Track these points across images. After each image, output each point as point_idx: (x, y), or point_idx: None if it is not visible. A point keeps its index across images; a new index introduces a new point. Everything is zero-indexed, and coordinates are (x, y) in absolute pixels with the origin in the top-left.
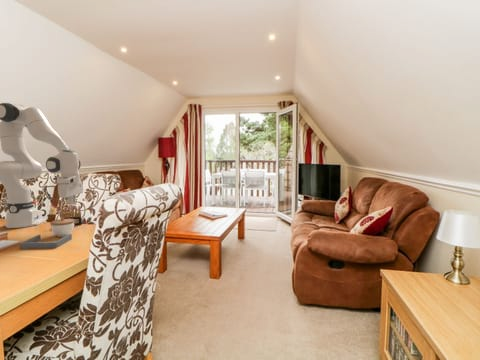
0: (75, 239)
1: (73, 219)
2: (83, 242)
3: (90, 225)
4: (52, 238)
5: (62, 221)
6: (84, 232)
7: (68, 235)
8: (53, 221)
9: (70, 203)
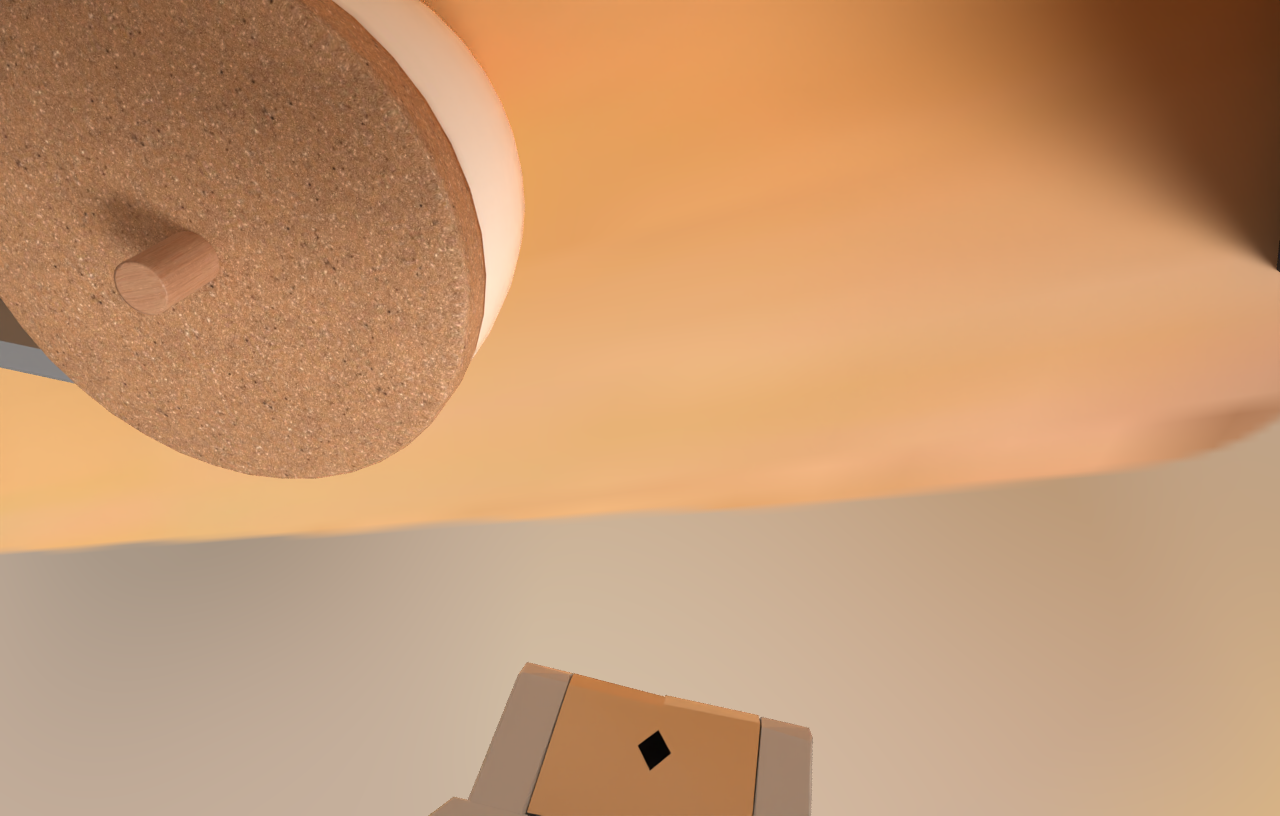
0: None
1: (358, 460)
2: (70, 513)
3: (1085, 461)
4: None
5: (112, 285)
6: (532, 448)
7: (50, 368)
8: (78, 28)
9: (525, 689)
